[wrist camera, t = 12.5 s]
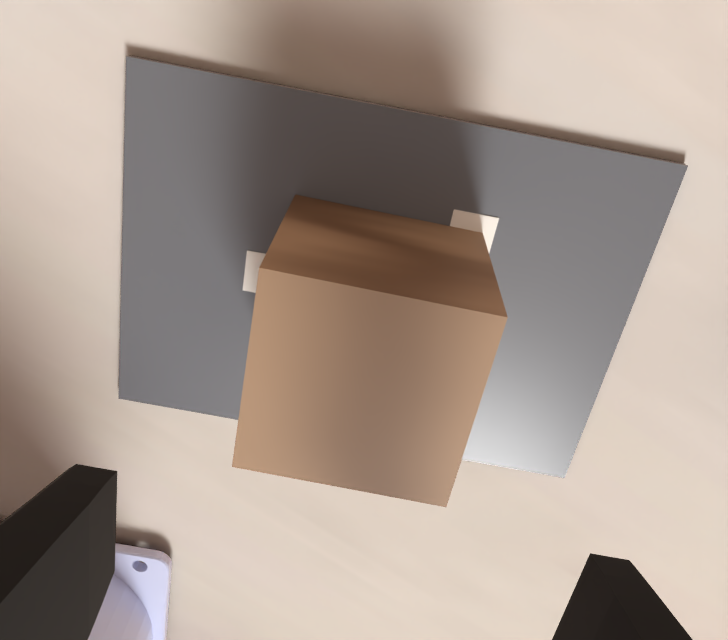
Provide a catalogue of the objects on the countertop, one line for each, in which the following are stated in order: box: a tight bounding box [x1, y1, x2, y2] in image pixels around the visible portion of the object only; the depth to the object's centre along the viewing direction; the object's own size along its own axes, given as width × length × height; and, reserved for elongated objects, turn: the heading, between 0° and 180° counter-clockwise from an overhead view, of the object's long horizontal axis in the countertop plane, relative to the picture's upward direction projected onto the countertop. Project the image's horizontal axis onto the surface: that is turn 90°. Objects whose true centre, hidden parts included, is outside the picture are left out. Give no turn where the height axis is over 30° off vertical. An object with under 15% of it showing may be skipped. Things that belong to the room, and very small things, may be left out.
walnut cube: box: [232, 194, 508, 507], centre depth 17 cm, size 5×5×5 cm
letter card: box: [119, 55, 688, 478], centre depth 19 cm, size 14×10×1 cm
